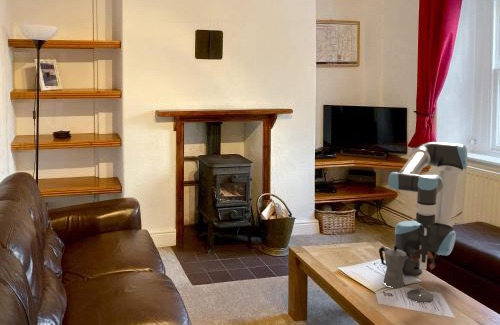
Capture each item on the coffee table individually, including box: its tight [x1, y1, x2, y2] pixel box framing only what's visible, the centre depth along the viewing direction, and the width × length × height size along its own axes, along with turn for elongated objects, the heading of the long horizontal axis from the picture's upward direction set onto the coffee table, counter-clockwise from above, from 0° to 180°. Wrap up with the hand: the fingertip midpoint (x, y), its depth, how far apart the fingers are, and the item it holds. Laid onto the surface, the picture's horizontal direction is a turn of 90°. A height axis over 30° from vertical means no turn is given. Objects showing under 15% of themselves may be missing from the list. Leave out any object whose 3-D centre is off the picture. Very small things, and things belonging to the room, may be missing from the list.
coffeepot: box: [378, 245, 408, 289], centre depth 242 cm, size 15×9×18 cm, turn 39°
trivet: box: [406, 288, 435, 304], centre depth 230 cm, size 11×11×1 cm
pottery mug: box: [410, 249, 437, 271], centre depth 228 cm, size 12×10×8 cm
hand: (422, 264), depth 228 cm, fingers closed on pottery mug, 9 cm apart
